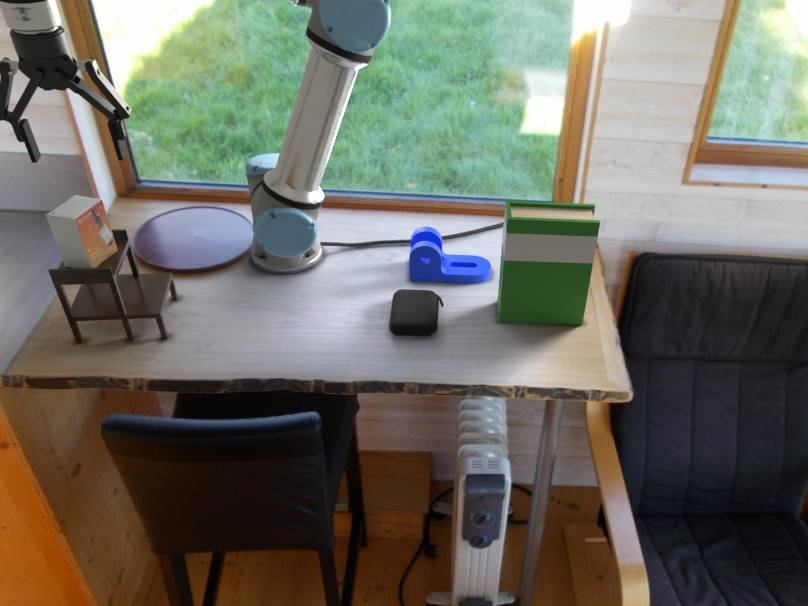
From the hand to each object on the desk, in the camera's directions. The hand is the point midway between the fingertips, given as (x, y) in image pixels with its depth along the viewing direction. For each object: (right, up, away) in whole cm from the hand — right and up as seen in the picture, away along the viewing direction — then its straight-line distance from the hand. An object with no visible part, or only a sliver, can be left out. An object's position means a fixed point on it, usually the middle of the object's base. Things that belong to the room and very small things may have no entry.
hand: (79, 158), depth 128 cm
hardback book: (+81, -24, +30) cm, 89 cm away
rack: (0, -26, +17) cm, 32 cm away
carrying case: (+55, -26, +25) cm, 66 cm away
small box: (-2, -16, +8) cm, 18 cm away
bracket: (+61, -14, +39) cm, 74 cm away
